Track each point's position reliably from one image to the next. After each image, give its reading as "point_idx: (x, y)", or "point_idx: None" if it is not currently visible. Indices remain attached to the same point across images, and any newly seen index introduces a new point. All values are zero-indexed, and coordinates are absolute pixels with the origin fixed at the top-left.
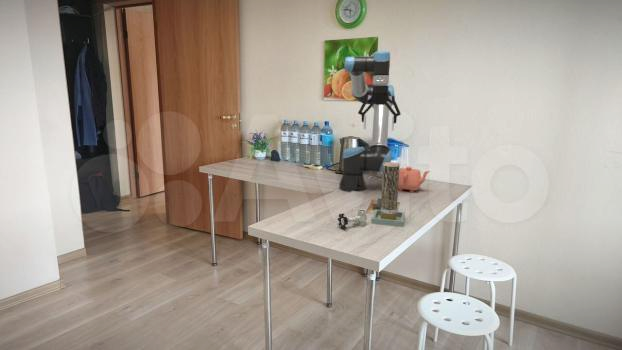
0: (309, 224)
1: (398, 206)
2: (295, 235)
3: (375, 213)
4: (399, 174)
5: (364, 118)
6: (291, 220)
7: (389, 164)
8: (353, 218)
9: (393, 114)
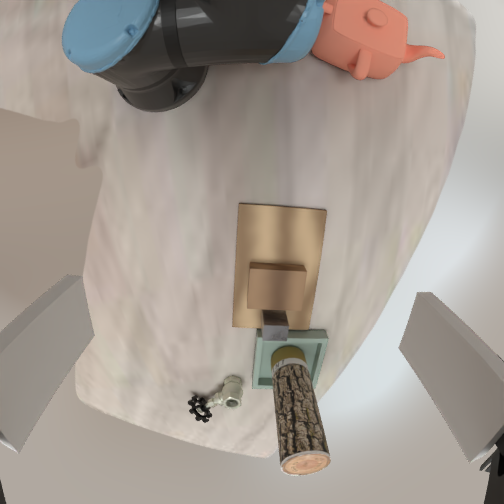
0: (141, 388)
1: (319, 255)
2: (144, 422)
3: (259, 362)
4: (337, 42)
5: (25, 419)
6: (105, 374)
7: (299, 470)
8: (217, 403)
9: (493, 479)
